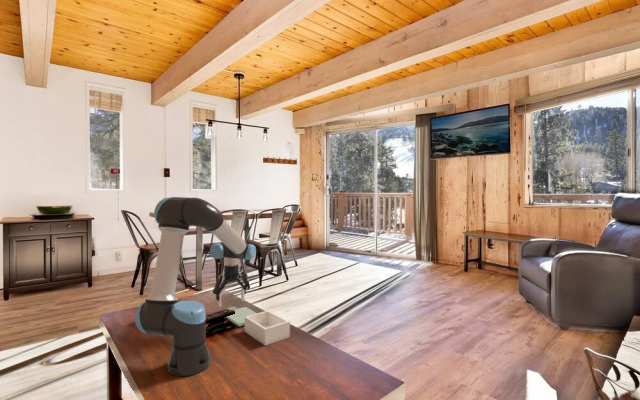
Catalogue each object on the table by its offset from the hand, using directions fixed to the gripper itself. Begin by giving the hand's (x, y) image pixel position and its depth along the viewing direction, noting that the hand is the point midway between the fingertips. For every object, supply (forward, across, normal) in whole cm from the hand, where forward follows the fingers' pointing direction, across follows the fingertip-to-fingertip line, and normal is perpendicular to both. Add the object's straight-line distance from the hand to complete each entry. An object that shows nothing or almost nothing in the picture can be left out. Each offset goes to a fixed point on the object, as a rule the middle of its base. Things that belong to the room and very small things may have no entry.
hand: (231, 303), depth 181 cm
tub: (+5, 0, +36) cm, 36 cm away
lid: (+5, 0, +10) cm, 11 cm away
